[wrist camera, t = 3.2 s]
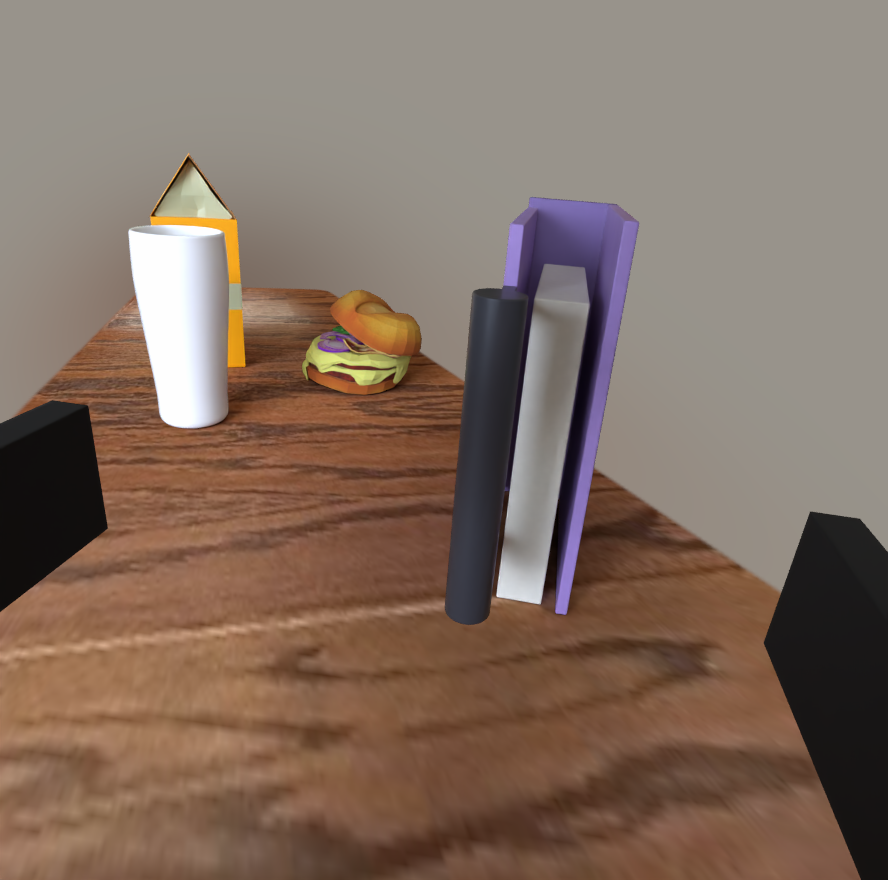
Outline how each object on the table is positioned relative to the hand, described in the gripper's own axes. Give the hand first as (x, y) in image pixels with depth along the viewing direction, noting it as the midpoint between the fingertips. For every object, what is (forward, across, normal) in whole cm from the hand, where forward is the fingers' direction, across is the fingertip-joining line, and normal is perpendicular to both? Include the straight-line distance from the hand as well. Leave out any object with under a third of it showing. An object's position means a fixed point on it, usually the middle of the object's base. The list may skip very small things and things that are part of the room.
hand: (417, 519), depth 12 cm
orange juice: (+51, -34, -15) cm, 63 cm away
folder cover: (+21, 0, -15) cm, 25 cm away
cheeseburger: (+49, -16, -15) cm, 54 cm away
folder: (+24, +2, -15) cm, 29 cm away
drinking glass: (+35, -26, -15) cm, 46 cm away
